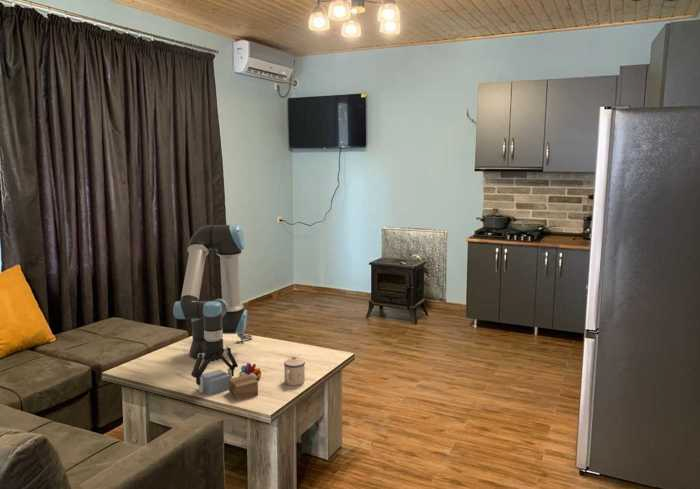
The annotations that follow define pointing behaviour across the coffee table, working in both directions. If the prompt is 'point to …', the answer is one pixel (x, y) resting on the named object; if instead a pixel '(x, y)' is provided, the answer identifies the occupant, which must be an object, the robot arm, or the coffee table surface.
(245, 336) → the elephant figurine
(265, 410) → the coffee table surface
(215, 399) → the coffee table surface
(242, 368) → the rainbow petal toy
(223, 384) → the gray brick
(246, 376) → the walnut brick
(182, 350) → the coffee table surface
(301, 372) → the teacup with lid
